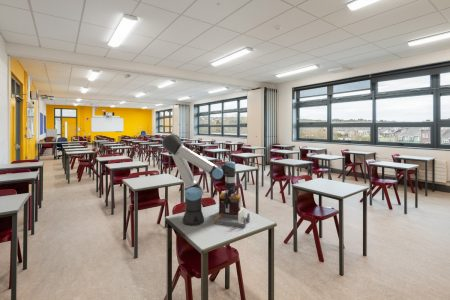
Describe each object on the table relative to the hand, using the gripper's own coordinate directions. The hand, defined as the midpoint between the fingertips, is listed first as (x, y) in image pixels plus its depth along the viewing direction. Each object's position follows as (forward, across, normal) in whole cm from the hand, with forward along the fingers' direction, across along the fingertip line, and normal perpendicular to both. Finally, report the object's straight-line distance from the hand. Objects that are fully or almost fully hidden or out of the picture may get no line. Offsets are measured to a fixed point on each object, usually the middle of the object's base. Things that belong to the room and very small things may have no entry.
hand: (230, 209), depth 188 cm
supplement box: (+4, 0, 0) cm, 4 cm away
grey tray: (+4, -14, -6) cm, 15 cm away
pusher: (+3, -14, -15) cm, 21 cm away
